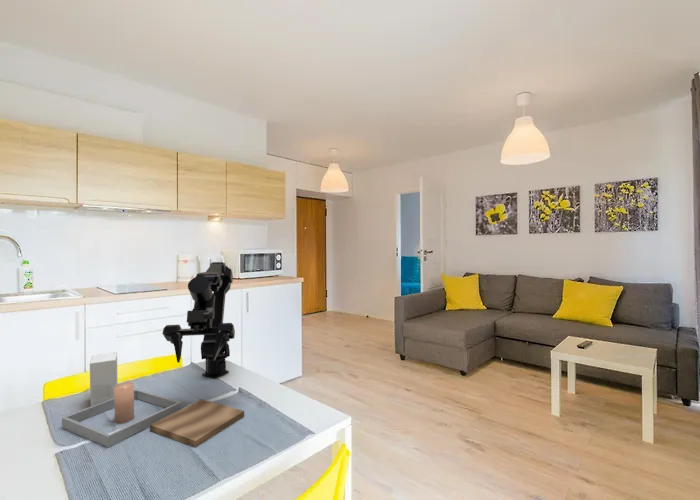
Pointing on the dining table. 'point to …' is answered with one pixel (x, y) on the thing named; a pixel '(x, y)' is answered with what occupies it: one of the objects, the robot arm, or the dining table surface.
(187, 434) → the board
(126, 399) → the copper brown cylinder
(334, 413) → the dining table surface
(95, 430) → the tray
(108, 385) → the small box
